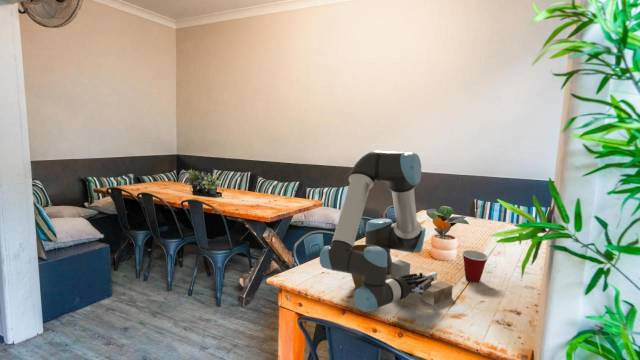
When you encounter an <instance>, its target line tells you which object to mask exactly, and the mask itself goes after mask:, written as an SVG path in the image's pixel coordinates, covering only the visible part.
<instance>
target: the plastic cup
mask: <svg viewBox="0 0 640 360" xmlns="http://www.w3.org/2000/svg"><path fill="white" fill-rule="evenodd" d="M461 254H462V257H463V267H464V275H465V277H464V278H465V280H466V281H467V282H469V281H470V282H469V283H474V284H475V283H477V284H478V283H480V282H481V279H482V276H483V272H484V270H485V266H486V264H487V261H488V260H489V258H490V257H489V255H487V254H486V253H484V252H481V251H478V250H472V249H468V250H467V249H465V250H463V251H462V252H461Z"/></svg>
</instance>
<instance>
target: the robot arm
mask: <svg viewBox="0 0 640 360" xmlns="http://www.w3.org/2000/svg"><path fill="white" fill-rule="evenodd" d="M421 180H422V163H421V159H420V157H419V155H418V154H417V153H415V152H412V151H411V152H410V151H405V150H404V151H396V150H395V151H390V150H373V151H370V152H368V153H365V155H363V156H361V158H360V159H359V160H357V161H356V163H355V164H354V166H353V167H352V169H351V171H350V173H349V177H348V182H349V184H348V189H347V190H346V191H347V192H346V195H345V199H344V201H343V204H342V208H341V211H340V215H339V217H338V219H337V220H338V221H337V223H336V228H335V231H334V234H333V236H332V240H331V244H330V245H324V246H323V247H322V249H321V251H320V252H319V253H320V254H319V264H320V266H321V267H322V268H324V269H326V270H330V271H333V272H335V271H336V272H341V273H346V274H350V275H351V274H355V275H360V276H362V287H359V288H358V289H356V290H355V291H354V293H353V300H354V303H355V305H356V307H357V308H358V309H359V310H361V311H362V312H369V311H370V312H371V311H374V310H375V311H376V310H377V309H379V308H381V307H383V306H386V305H390V304H392V303H396V302H397V301H401V300H403V299H406V298H407V297H408V296H409V295H410V294H414V293H415V292H417V293H418V294H419V295H421V296H422V295H423V292H424V291H426V290H427V289H428V288H430V287H431V284H432V282H434V281H437V279H438V272H436V271H432V272H429V273H425V274H424V273H423V272H419V274H418V273H410V274H408V275H402V276H394V277H393V278H391V277H390V278H387V274H391V270H392V262H393V260H392V255H391V250H394V251H400V252H406V253H411V254H421V253H422V251H423V246H424V242H425V237H426V228H425V227H424V226H422V225H421V223H420V222H419V221H418V219H417V208H416V199H415V197H416V196H415V188H416V186H417V185H419V183H420V182H421ZM375 182H381V183H383V182H384V183H386V187H387V189H388V190H389V191H391V196H392V201H393V209H394V210H393V211H394V217H395V223H394V222H393V220H392V219H390V218H374V219H370V220H368V221H366V226H365V241H364V244H365V245H374V246H378V247H372V246H370V247H366V248H365V249H364V252H360V251H354V250H353V246H354V245H355V242H356V240H357V239H356V237H357V234H358V231H359V228H360V224H361V221H362V217H363V214H364V210H365V206H366V202H367V198H368V195H369V192H370V189H372V188H373V187H374V185H375Z"/></svg>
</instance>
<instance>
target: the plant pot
mask: <svg viewBox="0 0 640 360" xmlns="http://www.w3.org/2000/svg"><path fill="white" fill-rule="evenodd" d="M370 246H372V247H378V246H374V245H365V243H364V244H361V243H359V244H354V246H353V250H354V251H360V252H364V249H365V248H366V247H370ZM350 275H351V277H352V281H353V284H354V287H355V289H356V290H357V289H358V288H359V287H362V276H360V275H355V274H350Z"/></svg>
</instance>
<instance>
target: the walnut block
mask: <svg viewBox="0 0 640 360" xmlns="http://www.w3.org/2000/svg"><path fill="white" fill-rule="evenodd" d="M452 296H453V284H451V283H449V282H446V281H443V280H440V281H437V282H435V283H431V287H430V288H428V289H427V290H426V291H424V292H423V295H421V301H423V302H425V303H427V304H429V305H432V306H434V305H438V304H439V303H441V302H444V301H447V300H449V299H451V298H453V297H452Z"/></svg>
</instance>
